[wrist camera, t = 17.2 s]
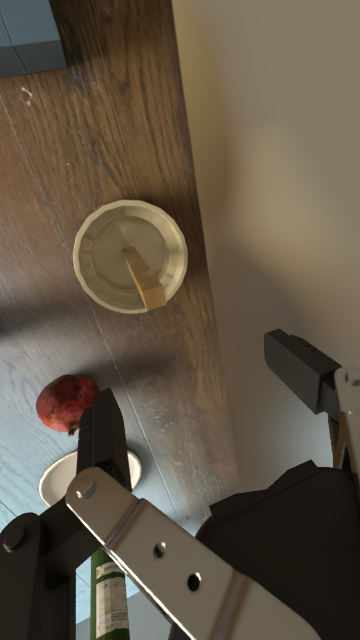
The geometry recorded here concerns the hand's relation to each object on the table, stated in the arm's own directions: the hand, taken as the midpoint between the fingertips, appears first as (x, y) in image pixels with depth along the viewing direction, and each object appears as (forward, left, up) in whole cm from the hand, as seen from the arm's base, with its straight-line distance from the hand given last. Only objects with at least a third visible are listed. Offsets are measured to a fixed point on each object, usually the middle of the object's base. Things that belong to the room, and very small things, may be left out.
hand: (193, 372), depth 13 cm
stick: (0, 0, -28) cm, 28 cm away
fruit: (+22, +12, -29) cm, 38 cm away
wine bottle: (+52, +56, -29) cm, 82 cm away
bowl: (0, 0, -29) cm, 29 cm away
